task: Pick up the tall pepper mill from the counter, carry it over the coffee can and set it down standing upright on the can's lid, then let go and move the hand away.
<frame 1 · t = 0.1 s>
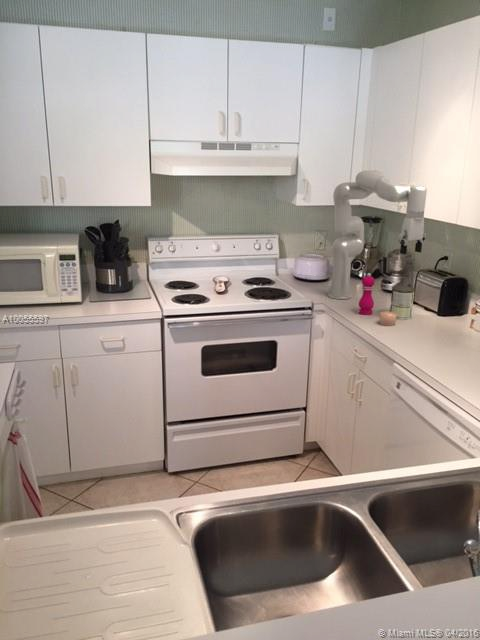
hand: (410, 252, 241), 31 cm above the worktop, tool pointing down, fingers open, 9 cm apart
pale pink round lump: (387, 323, 243), on the worktop
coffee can: (400, 316, 254), on the worktop
pepper mill: (365, 313, 258), on the worktop
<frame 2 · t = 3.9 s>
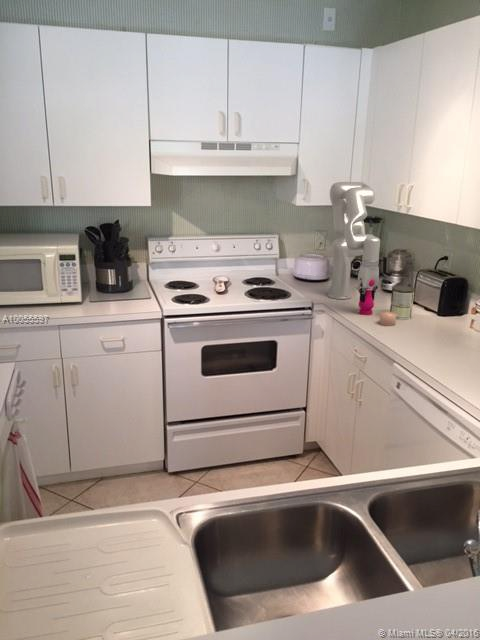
hand: (366, 300, 256), 7 cm above the worktop, tool pointing down, fingers closed on pepper mill, 5 cm apart
pepper mill: (365, 313, 258), on the worktop, touching gripper
everything else where it was.
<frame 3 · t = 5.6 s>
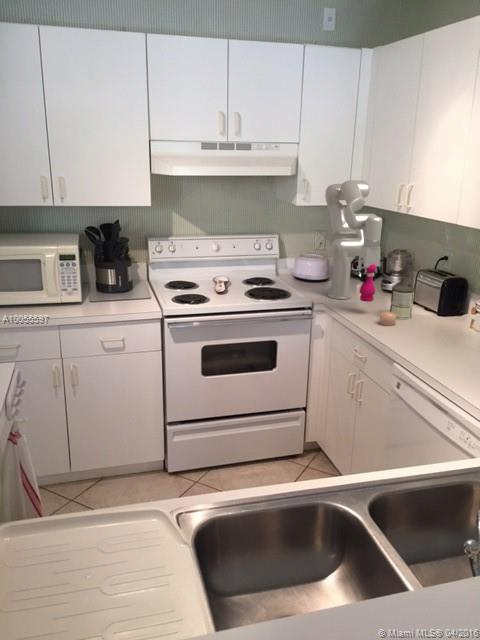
hand: (367, 280, 254), 16 cm above the worktop, tool pointing down, fingers closed on pepper mill, 5 cm apart
pepper mill: (366, 300, 256), point 6 cm above the worktop, touching gripper
everything else where it was.
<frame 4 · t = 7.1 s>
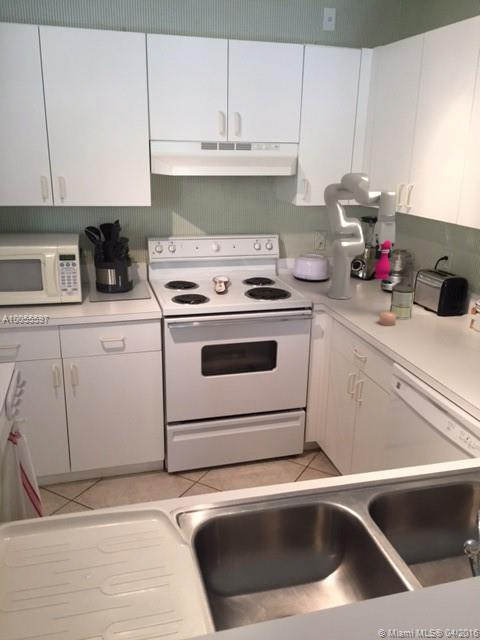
hand: (382, 257, 248), 28 cm above the worktop, tool pointing down, fingers closed on pepper mill, 5 cm apart
pepper mill: (381, 278, 250), point 18 cm above the worktop, touching gripper
everything else where it was.
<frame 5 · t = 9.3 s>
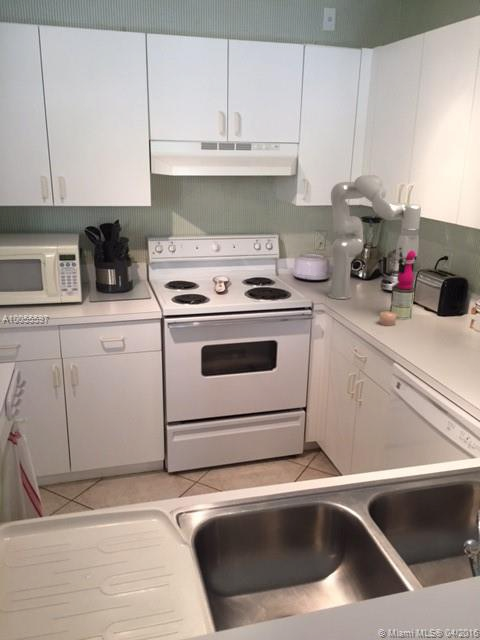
hand: (405, 271, 247), 22 cm above the worktop, tool pointing down, fingers closed on pepper mill, 4 cm apart
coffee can: (400, 316, 254), on the worktop, touching pepper mill
pepper mill: (404, 288, 249), point 14 cm above the worktop, touching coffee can, gripper
everything else where it was.
when the fingers open (22 cm above the worktop, at t = 9.4 s): pepper mill stays where it is, resting on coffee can.
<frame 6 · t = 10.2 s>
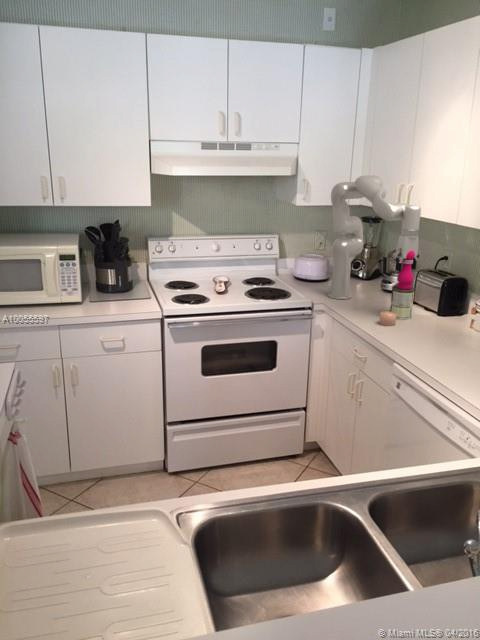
hand: (405, 270, 247), 23 cm above the worktop, tool pointing down, fingers open, 9 cm apart
pepper mill: (404, 288, 249), point 14 cm above the worktop, touching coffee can
everything else where it was.
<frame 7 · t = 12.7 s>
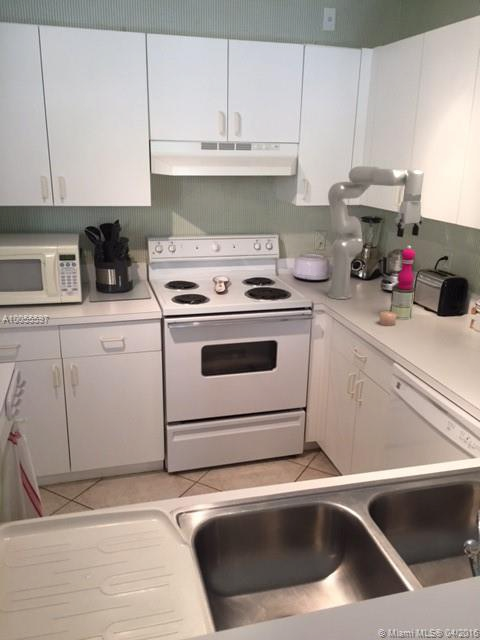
hand: (407, 236, 245), 38 cm above the worktop, tool pointing down, fingers open, 9 cm apart
nothing on the worktop moved.
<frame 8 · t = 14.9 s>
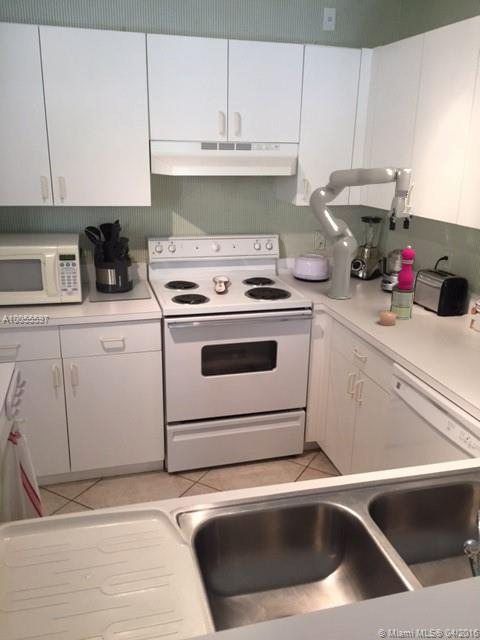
hand: (399, 229, 263), 38 cm above the worktop, tool pointing down, fingers open, 9 cm apart
nothing on the worktop moved.
at the end: pepper mill inside the target area on the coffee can (0.7 cm from its centre), point 14.1 cm above the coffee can's base; pepper mill tilted 0°; the gripper is holding nothing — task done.
